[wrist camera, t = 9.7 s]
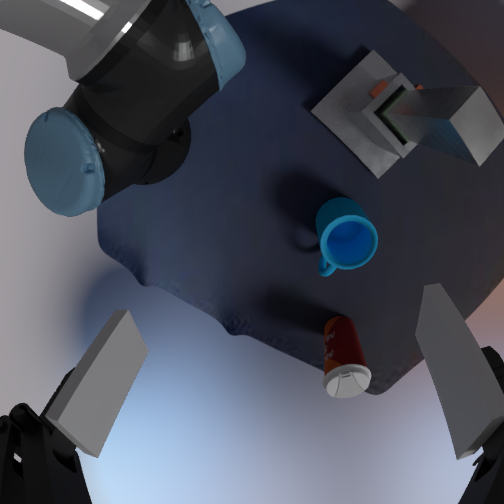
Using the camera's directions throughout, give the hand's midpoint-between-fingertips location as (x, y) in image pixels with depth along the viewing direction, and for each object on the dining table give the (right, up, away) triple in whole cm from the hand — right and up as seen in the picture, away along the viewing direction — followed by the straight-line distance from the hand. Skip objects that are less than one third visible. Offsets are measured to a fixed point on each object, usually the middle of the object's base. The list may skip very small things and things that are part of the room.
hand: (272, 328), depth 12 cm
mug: (+13, +7, +35) cm, 37 cm away
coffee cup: (+16, -12, +43) cm, 48 cm away
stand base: (+17, +24, +25) cm, 38 cm away
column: (+16, +20, +18) cm, 32 cm away
